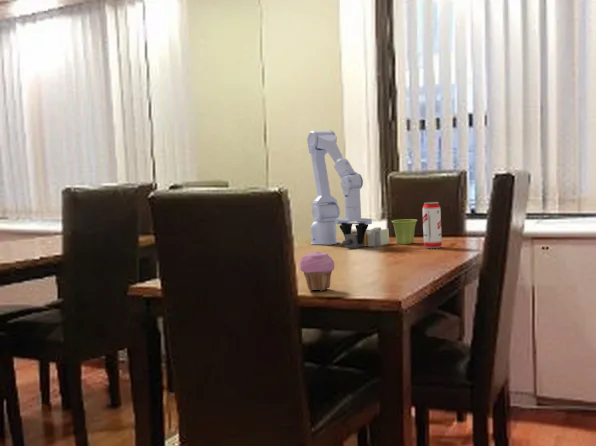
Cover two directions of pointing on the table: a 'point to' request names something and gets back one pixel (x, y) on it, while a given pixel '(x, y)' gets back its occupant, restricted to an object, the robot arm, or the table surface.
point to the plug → (354, 240)
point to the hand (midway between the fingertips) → (354, 243)
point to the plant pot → (404, 230)
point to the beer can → (432, 225)
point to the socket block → (377, 237)
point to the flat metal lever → (374, 230)
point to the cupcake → (317, 270)
